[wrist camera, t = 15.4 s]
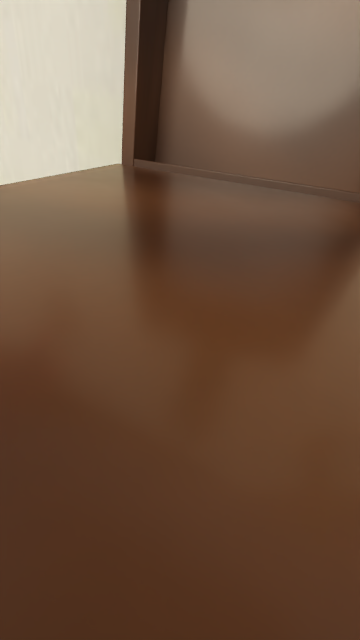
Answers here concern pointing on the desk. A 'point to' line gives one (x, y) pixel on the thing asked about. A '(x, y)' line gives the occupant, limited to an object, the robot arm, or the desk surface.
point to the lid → (178, 410)
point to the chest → (246, 92)
